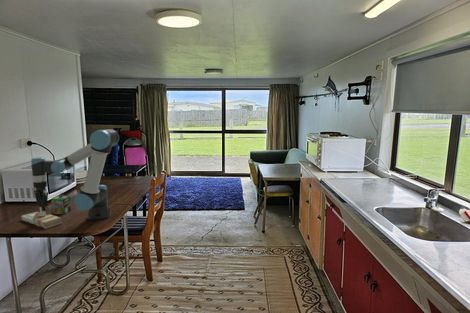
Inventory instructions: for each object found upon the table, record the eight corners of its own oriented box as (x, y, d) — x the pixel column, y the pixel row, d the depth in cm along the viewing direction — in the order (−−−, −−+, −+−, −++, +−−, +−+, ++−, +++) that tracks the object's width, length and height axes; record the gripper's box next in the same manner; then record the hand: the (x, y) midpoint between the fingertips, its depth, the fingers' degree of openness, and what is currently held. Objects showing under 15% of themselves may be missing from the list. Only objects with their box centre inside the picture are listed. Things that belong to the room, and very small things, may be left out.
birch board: (61, 223, 195) (61, 217, 194) (46, 228, 186) (45, 222, 186) (49, 219, 202) (49, 214, 201) (34, 224, 193) (33, 218, 192)
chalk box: (59, 210, 221) (57, 191, 219) (71, 210, 221) (69, 191, 219) (51, 214, 212) (50, 194, 210) (64, 214, 212) (62, 194, 210)
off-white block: (36, 212, 204) (36, 217, 205) (28, 215, 200) (28, 219, 200) (41, 214, 201) (41, 218, 202) (33, 216, 197) (33, 220, 198)
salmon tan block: (46, 214, 198) (44, 210, 199) (38, 216, 194) (36, 212, 194) (42, 218, 201) (41, 214, 201) (35, 220, 197) (33, 216, 197)
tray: (49, 219, 202) (49, 215, 201) (33, 224, 193) (33, 220, 193) (37, 215, 209) (36, 211, 209) (21, 220, 201) (21, 215, 200)
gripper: (51, 181, 192) (54, 215, 196) (40, 178, 198) (43, 212, 202) (39, 183, 186) (42, 219, 189) (28, 181, 192) (31, 215, 195)
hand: (43, 215), depth 196 cm, fingers closed
